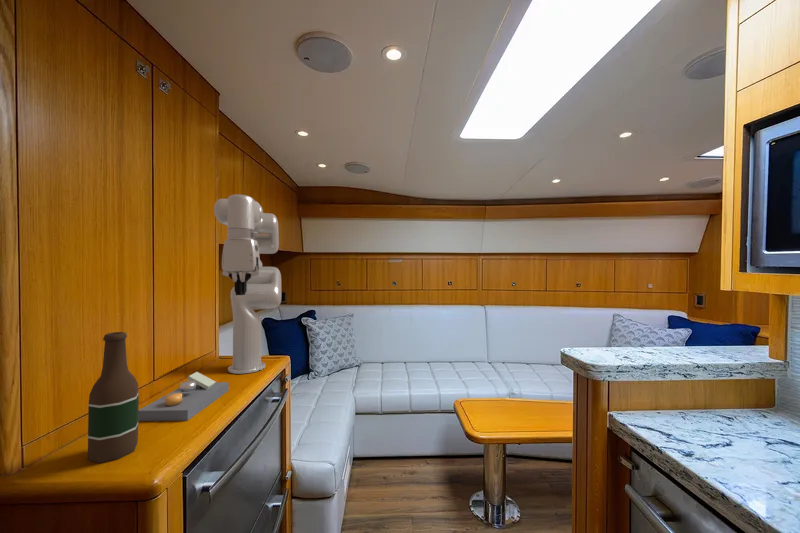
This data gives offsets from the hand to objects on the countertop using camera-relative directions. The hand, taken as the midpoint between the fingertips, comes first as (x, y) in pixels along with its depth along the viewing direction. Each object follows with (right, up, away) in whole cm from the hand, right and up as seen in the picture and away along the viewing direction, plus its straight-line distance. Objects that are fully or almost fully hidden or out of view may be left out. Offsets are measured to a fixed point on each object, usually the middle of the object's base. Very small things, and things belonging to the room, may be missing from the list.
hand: (240, 294), depth 102 cm
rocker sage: (-9, -25, -6) cm, 27 cm away
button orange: (-9, -26, -18) cm, 33 cm away
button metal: (-9, -25, -12) cm, 29 cm away
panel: (-9, -29, -12) cm, 32 cm away
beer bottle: (-8, -29, -36) cm, 47 cm away
